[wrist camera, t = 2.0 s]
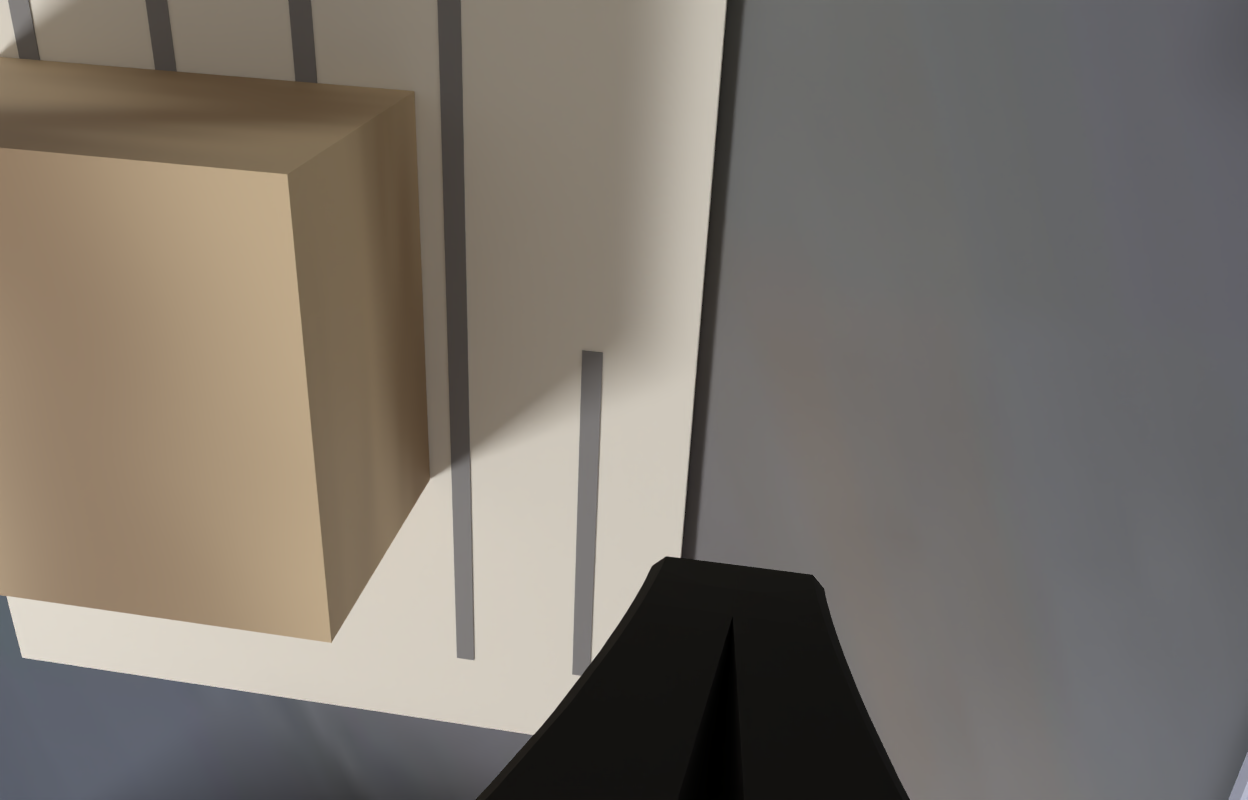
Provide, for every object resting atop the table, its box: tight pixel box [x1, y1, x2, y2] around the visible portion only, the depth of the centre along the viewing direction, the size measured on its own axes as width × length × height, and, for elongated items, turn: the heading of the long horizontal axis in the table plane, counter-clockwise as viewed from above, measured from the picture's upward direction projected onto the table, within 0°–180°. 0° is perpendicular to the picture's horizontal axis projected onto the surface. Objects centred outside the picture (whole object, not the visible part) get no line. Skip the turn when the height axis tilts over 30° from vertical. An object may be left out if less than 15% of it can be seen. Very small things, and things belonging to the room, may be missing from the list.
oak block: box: [0, 57, 430, 643], centre depth 15 cm, size 6×6×4 cm
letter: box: [0, 0, 727, 735], centre depth 17 cm, size 12×16×1 cm
